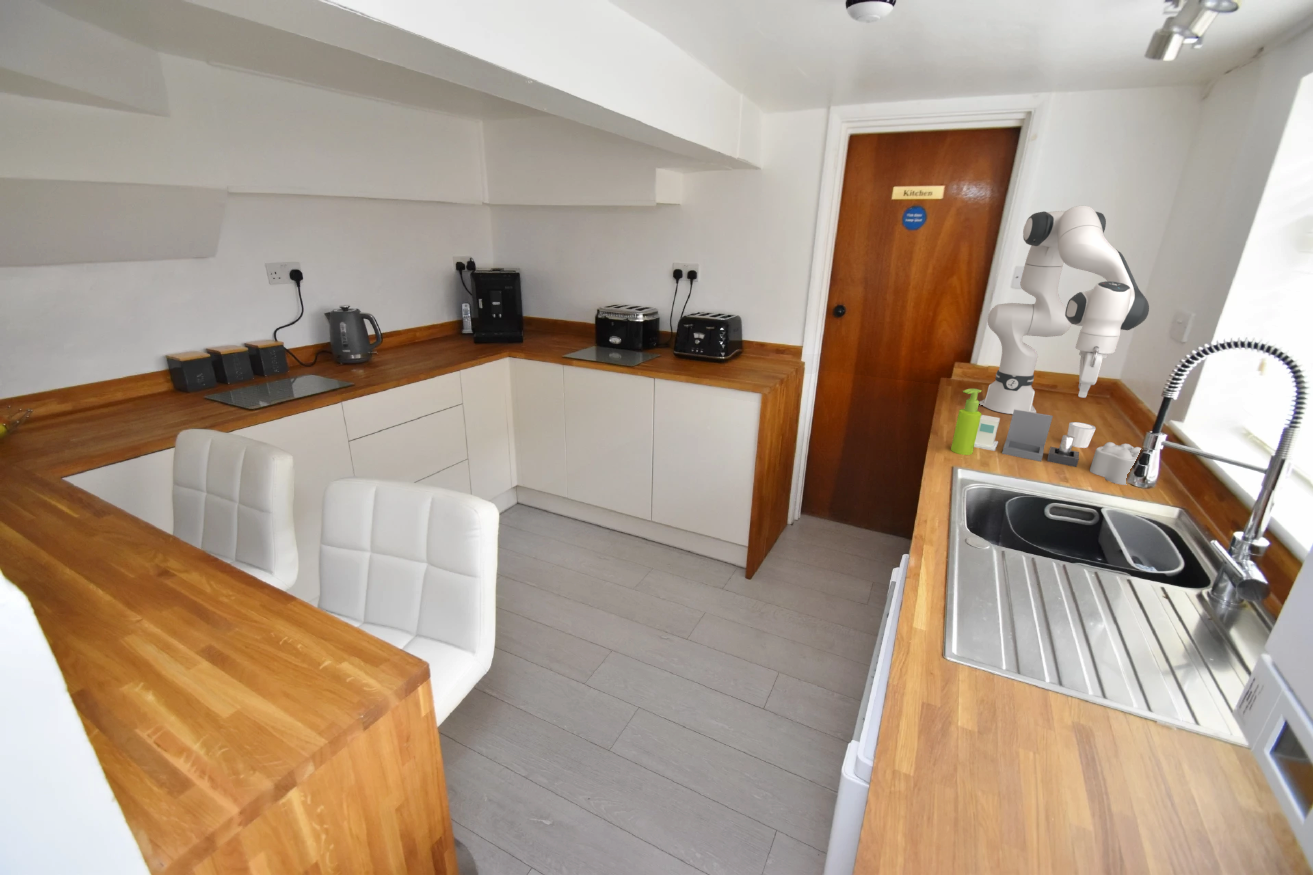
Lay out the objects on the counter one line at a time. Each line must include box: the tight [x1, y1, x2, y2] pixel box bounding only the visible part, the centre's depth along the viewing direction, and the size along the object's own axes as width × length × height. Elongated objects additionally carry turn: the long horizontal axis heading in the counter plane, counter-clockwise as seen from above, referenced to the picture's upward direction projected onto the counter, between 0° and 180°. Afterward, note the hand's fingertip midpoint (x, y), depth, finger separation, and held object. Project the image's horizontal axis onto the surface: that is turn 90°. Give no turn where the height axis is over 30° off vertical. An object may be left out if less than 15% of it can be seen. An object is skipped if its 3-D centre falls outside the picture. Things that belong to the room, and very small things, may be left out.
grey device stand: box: [1001, 409, 1054, 462], centre depth 171 cm, size 10×10×12 cm
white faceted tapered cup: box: [1066, 421, 1097, 449], centre depth 179 cm, size 7×7×7 cm
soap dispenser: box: [950, 388, 983, 456], centre depth 169 cm, size 6×7×20 cm
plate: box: [974, 440, 999, 452], centre depth 179 cm, size 8×7×1 cm
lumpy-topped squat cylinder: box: [1089, 441, 1142, 486], centre depth 158 cm, size 10×13×9 cm
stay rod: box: [1058, 434, 1075, 456], centre depth 167 cm, size 3×3×8 cm
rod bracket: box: [1047, 446, 1080, 468], centre depth 167 cm, size 7×7×3 cm
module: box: [975, 414, 1001, 447], centre depth 177 cm, size 5×5×8 cm
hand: (1081, 392), depth 161 cm, fingers open, 8 cm apart
